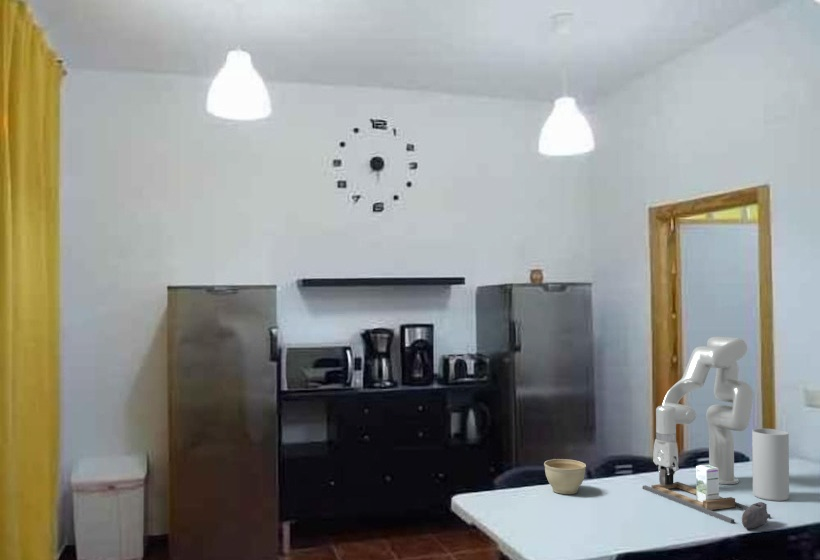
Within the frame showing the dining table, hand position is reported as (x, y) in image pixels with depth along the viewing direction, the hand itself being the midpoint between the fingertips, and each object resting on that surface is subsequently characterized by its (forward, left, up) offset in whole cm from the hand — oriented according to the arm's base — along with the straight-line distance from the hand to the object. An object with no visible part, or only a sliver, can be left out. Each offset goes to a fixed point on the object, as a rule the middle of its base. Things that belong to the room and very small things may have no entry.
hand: (666, 482), depth 285 cm
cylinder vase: (+23, +30, -3) cm, 38 cm away
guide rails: (+19, 0, -2) cm, 20 cm away
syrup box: (+24, -2, -3) cm, 24 cm away
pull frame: (+14, 0, -2) cm, 14 cm away
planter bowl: (-11, -40, -3) cm, 42 cm away
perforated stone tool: (+47, -4, -3) cm, 48 cm away
